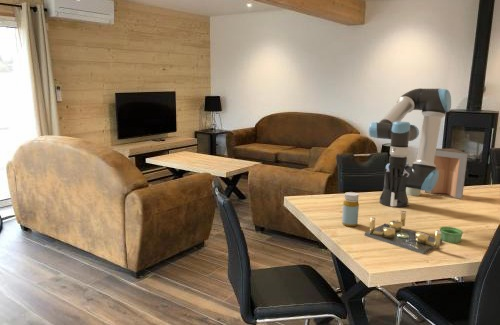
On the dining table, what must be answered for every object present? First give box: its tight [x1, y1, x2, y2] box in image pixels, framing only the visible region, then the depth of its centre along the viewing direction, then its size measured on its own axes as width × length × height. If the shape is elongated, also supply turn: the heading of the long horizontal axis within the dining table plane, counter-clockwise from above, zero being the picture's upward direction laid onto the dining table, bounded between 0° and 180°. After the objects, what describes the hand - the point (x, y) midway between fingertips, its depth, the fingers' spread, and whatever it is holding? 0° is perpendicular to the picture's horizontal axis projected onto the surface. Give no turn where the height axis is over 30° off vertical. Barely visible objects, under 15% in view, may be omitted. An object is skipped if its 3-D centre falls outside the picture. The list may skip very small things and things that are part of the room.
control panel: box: [364, 223, 443, 255], centre depth 169 cm, size 26×18×2 cm
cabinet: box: [424, 148, 469, 200], centre depth 238 cm, size 21×10×28 cm, turn 47°
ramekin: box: [439, 226, 464, 244], centre depth 169 cm, size 9×9×4 cm
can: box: [406, 187, 422, 197], centre depth 240 cm, size 9×9×12 cm
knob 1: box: [368, 217, 395, 238], centre depth 169 cm, size 10×5×7 cm, turn 63°
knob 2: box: [389, 210, 407, 231], centre depth 177 cm, size 10×5×7 cm, turn 133°
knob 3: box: [415, 230, 441, 249], centre depth 160 cm, size 11×5×7 cm, turn 29°
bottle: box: [341, 191, 360, 228], centre depth 184 cm, size 7×7×15 cm
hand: (393, 205), depth 183 cm, fingers closed
